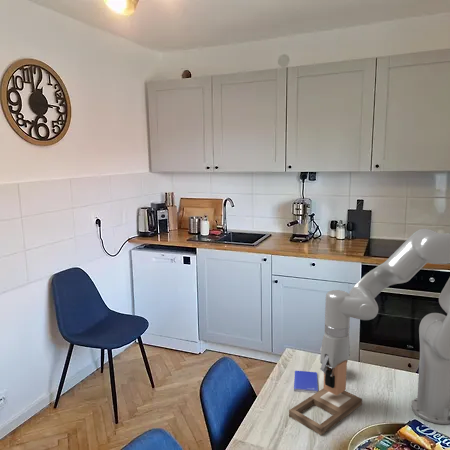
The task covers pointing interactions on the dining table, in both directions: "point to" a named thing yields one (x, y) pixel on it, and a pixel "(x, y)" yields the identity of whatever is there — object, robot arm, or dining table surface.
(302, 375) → the hard drive
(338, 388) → the block
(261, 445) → the dining table surface
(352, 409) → the socket board
